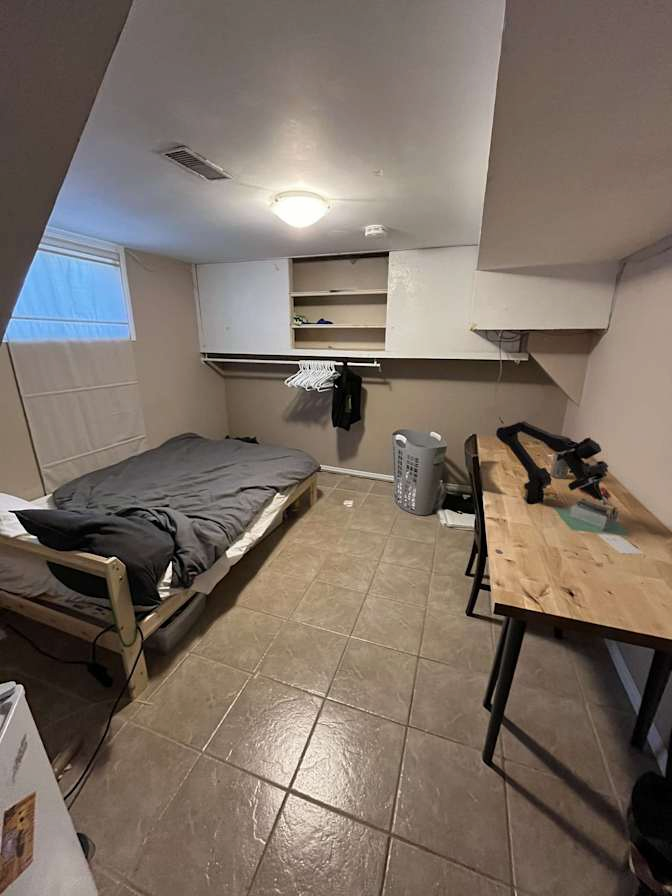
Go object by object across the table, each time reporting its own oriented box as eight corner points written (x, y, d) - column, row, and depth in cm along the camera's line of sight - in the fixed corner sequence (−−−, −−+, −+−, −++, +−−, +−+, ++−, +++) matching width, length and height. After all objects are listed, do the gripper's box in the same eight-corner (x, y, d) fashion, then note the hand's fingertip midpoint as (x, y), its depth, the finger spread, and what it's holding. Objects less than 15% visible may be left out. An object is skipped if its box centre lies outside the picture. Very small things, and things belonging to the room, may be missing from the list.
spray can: (567, 475, 196) (574, 439, 191) (567, 480, 190) (574, 443, 184) (549, 472, 201) (556, 437, 195) (549, 477, 194) (555, 440, 189)
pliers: (591, 505, 161) (593, 500, 160) (576, 488, 180) (577, 483, 179) (621, 508, 158) (623, 503, 158) (603, 491, 177) (604, 486, 176)
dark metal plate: (578, 503, 146) (578, 501, 146) (582, 501, 147) (582, 499, 147) (609, 513, 137) (610, 512, 137) (613, 512, 138) (613, 510, 138)
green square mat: (570, 532, 137) (571, 529, 137) (552, 509, 156) (553, 507, 155) (631, 538, 133) (632, 536, 132) (605, 514, 152) (606, 512, 151)
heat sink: (568, 518, 146) (571, 501, 144) (583, 511, 152) (586, 494, 150) (602, 531, 136) (606, 512, 134) (616, 523, 142) (621, 505, 140)
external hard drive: (619, 557, 122) (595, 538, 134) (644, 558, 121) (618, 538, 133) (620, 553, 121) (596, 534, 133) (646, 554, 121) (619, 534, 133)
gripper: (583, 458, 135) (610, 496, 129) (606, 451, 144) (633, 486, 138) (557, 472, 143) (582, 508, 137) (581, 464, 153) (605, 498, 147)
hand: (601, 499), depth 140 cm, fingers closed
